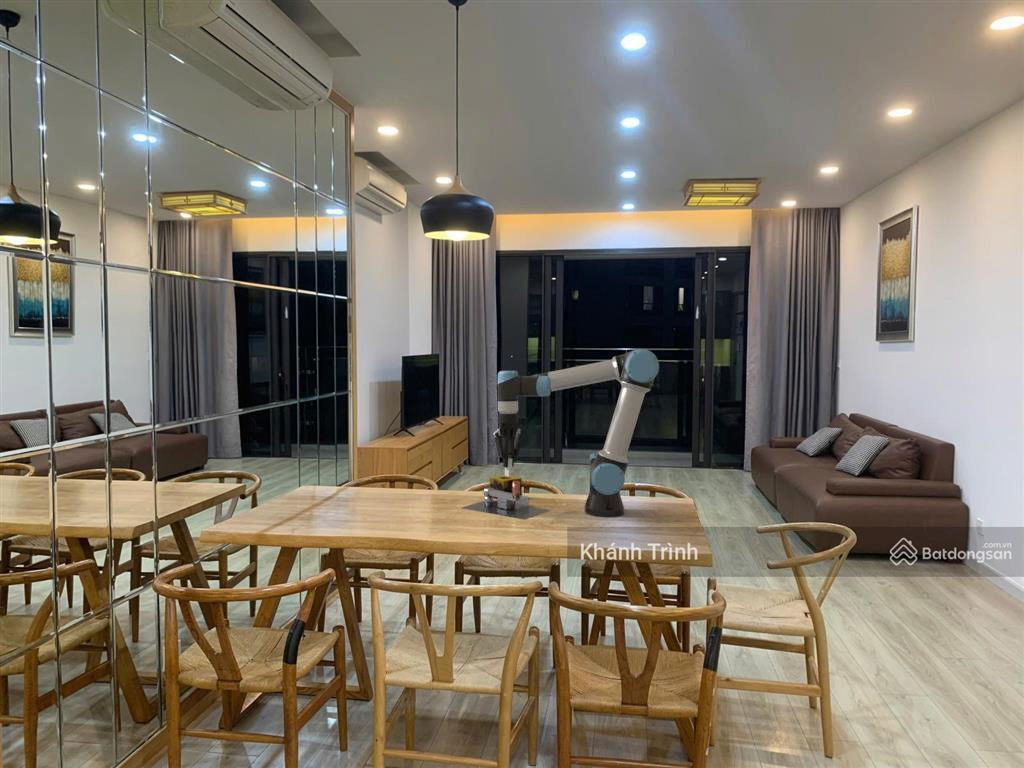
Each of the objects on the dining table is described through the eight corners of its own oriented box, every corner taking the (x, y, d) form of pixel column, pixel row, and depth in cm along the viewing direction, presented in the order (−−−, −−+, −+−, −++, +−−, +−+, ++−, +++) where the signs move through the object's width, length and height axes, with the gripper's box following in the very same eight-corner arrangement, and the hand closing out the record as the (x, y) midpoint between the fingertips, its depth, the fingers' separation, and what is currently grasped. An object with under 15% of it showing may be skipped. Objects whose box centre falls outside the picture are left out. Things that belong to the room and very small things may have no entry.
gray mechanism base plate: (550, 514, 254) (551, 499, 254) (524, 523, 239) (524, 508, 239) (488, 503, 271) (488, 489, 271) (460, 511, 257) (460, 497, 256)
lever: (481, 505, 260) (481, 476, 259) (489, 503, 263) (490, 475, 262) (514, 513, 247) (515, 483, 246) (523, 511, 250) (523, 481, 249)
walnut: (519, 507, 258) (519, 497, 258) (512, 509, 254) (512, 499, 254) (510, 505, 261) (510, 495, 260) (503, 507, 257) (503, 497, 257)
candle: (508, 497, 283) (508, 474, 283) (522, 501, 275) (523, 477, 275) (488, 500, 277) (488, 476, 277) (503, 505, 269) (503, 480, 269)
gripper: (516, 410, 252) (517, 472, 253) (487, 412, 245) (488, 476, 246) (528, 412, 246) (528, 475, 247) (498, 414, 239) (499, 479, 240)
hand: (508, 475), depth 247 cm, fingers closed
